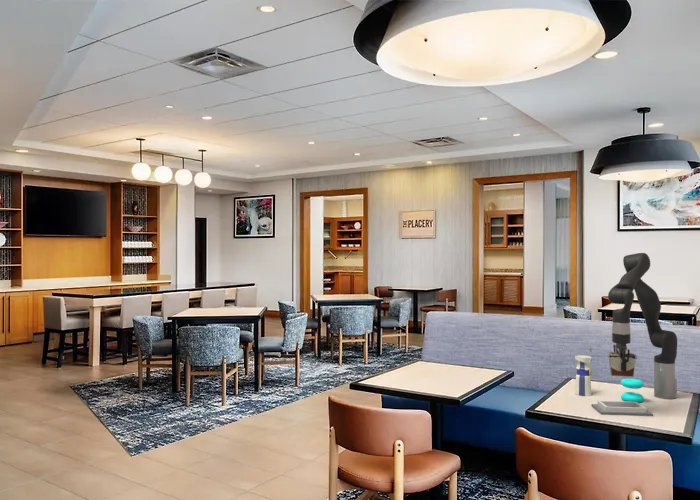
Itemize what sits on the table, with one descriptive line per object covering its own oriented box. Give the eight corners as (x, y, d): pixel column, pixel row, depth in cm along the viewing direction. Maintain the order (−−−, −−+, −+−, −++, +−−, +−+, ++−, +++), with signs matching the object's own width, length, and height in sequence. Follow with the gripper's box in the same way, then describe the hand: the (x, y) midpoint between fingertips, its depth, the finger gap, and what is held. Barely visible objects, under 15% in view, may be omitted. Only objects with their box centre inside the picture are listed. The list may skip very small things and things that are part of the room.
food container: (633, 374, 262) (633, 352, 262) (637, 377, 256) (637, 354, 256) (604, 372, 264) (604, 351, 264) (607, 375, 258) (608, 353, 258)
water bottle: (593, 393, 291) (593, 344, 292) (590, 397, 284) (590, 347, 284) (576, 391, 296) (576, 343, 296) (573, 394, 289) (573, 345, 289)
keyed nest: (640, 407, 265) (640, 401, 265) (653, 416, 251) (653, 409, 251) (591, 406, 267) (591, 399, 267) (601, 414, 254) (601, 407, 254)
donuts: (648, 381, 275) (632, 383, 272) (648, 402, 275) (632, 404, 271) (632, 377, 284) (616, 378, 281) (632, 397, 284) (616, 398, 281)
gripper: (607, 330, 267) (607, 366, 267) (618, 334, 253) (618, 372, 253) (624, 330, 266) (624, 366, 266) (635, 334, 252) (636, 373, 252)
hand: (621, 369), depth 259 cm, fingers closed on food container, 5 cm apart
